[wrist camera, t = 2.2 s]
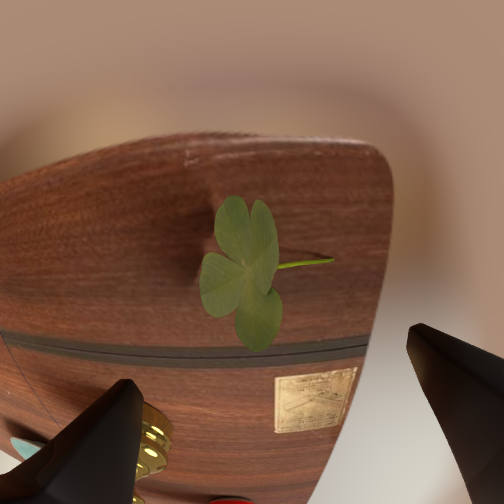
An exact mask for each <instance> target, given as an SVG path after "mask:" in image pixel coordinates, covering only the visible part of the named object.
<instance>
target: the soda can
mask: <svg viewBox="0 0 504 504" xmlns="http://www.w3.org/2000/svg"><path fill="white" fill-rule="evenodd" d="M208 504H255V503H254V502H251V501H249V500H247V499H243V498H219V499H216V500H214V501H211V502H209V503H208Z"/></svg>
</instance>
